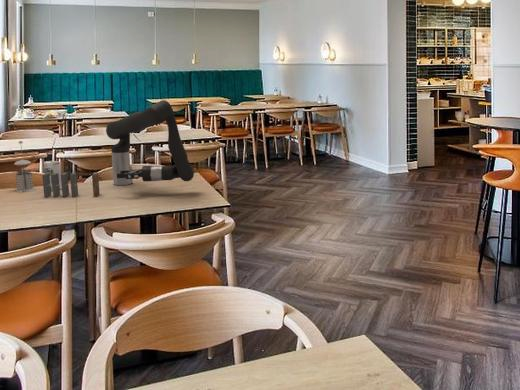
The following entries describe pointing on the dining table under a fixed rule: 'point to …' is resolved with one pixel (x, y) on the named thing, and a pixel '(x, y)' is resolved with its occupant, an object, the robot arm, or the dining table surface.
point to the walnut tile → (95, 184)
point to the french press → (24, 176)
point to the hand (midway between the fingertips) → (118, 174)
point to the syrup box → (52, 170)
